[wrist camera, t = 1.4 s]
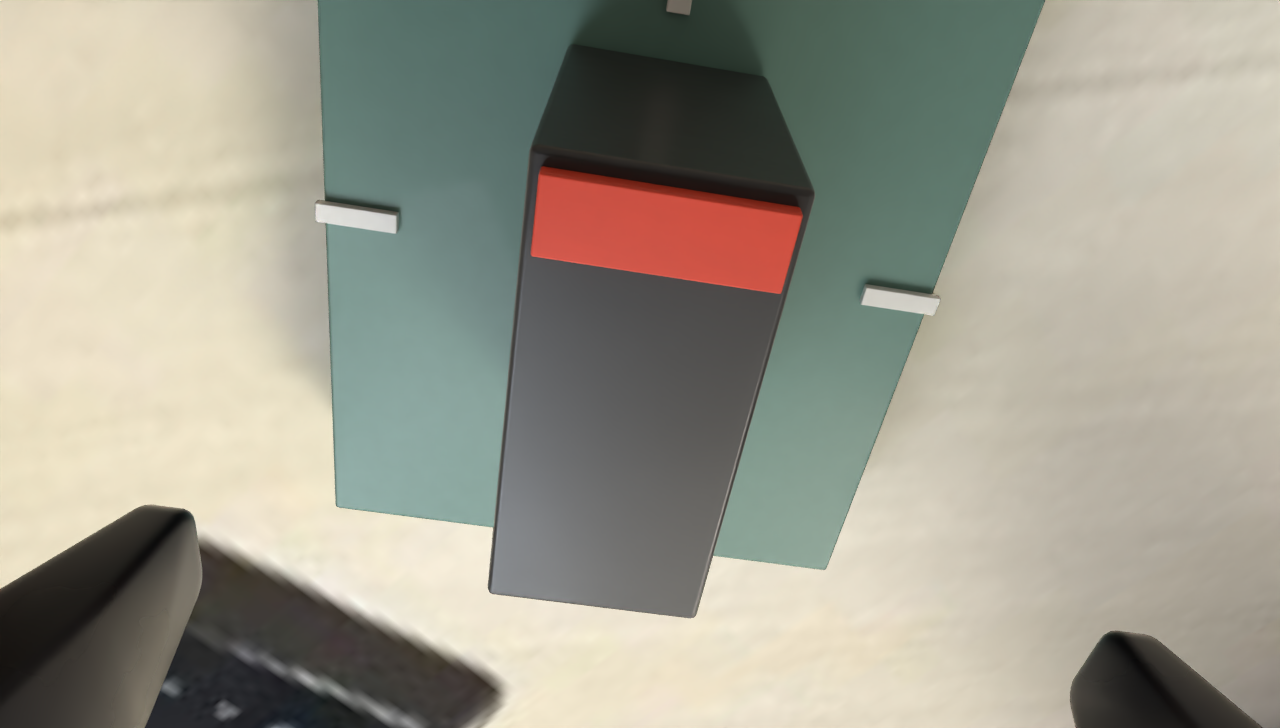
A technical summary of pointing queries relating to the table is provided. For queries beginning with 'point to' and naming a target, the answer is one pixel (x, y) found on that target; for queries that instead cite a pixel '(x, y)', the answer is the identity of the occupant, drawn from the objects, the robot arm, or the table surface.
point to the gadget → (640, 326)
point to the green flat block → (494, 203)
